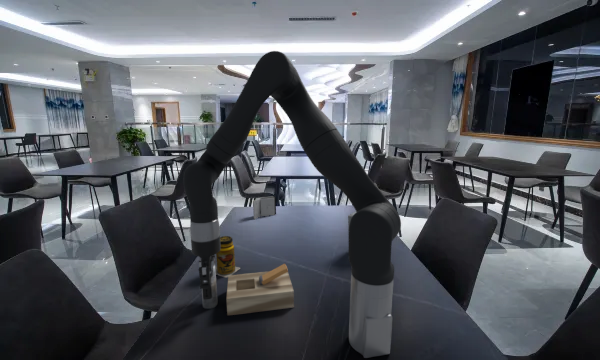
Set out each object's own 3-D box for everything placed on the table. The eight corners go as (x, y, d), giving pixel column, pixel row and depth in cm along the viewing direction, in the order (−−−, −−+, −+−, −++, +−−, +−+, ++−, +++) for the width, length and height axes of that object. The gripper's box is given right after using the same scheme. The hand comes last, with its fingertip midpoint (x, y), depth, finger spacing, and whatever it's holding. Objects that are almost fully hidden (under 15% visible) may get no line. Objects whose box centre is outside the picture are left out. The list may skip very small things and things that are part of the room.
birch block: (293, 307, 80) (293, 291, 79) (227, 315, 77) (226, 298, 76) (287, 284, 92) (287, 269, 91) (229, 290, 88) (228, 275, 87)
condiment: (226, 278, 95) (224, 244, 93) (208, 271, 99) (205, 239, 97) (241, 268, 102) (239, 236, 99) (223, 262, 106) (221, 232, 103)
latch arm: (261, 286, 82) (258, 282, 82) (260, 280, 85) (258, 276, 85) (288, 271, 83) (286, 267, 82) (286, 266, 86) (284, 262, 85)
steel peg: (217, 307, 80) (214, 268, 78) (201, 309, 79) (198, 269, 77) (218, 299, 84) (215, 261, 82) (203, 300, 83) (200, 262, 81)
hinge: (254, 219, 153) (253, 201, 151) (250, 216, 157) (249, 199, 155) (277, 214, 160) (276, 197, 158) (272, 212, 164) (272, 195, 163)
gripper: (217, 244, 71) (221, 304, 75) (221, 224, 85) (224, 275, 88) (185, 247, 70) (190, 307, 73) (194, 226, 84) (198, 278, 87)
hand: (209, 290), depth 81 cm, fingers open, 7 cm apart
